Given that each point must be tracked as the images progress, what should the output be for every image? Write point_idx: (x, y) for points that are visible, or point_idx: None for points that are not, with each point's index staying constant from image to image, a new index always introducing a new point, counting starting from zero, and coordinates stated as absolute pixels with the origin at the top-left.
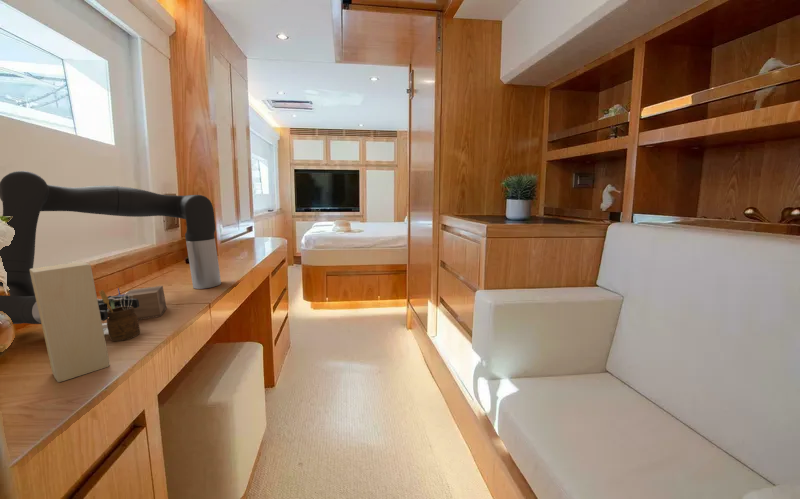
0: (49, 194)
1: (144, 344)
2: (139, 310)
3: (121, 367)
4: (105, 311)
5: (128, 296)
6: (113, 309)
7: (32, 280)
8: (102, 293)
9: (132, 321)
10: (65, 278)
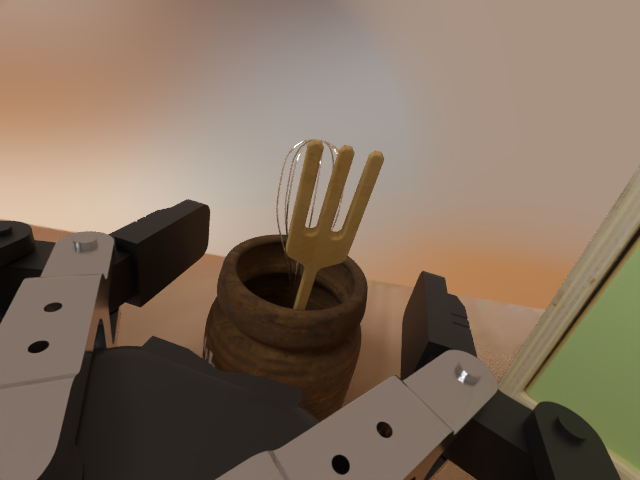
0: None
1: (379, 309)
2: None
3: (519, 318)
4: (426, 274)
5: (27, 226)
6: (270, 304)
7: None
8: (341, 179)
9: (311, 293)
10: None
